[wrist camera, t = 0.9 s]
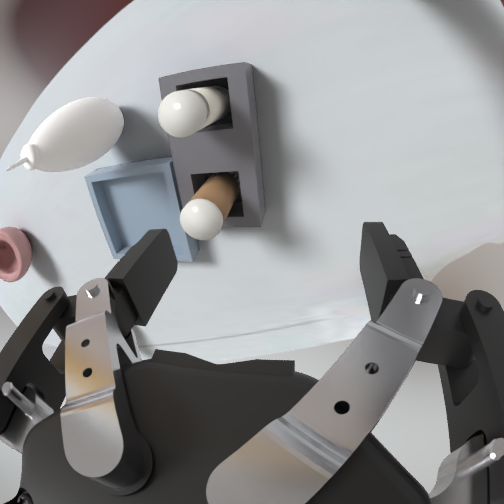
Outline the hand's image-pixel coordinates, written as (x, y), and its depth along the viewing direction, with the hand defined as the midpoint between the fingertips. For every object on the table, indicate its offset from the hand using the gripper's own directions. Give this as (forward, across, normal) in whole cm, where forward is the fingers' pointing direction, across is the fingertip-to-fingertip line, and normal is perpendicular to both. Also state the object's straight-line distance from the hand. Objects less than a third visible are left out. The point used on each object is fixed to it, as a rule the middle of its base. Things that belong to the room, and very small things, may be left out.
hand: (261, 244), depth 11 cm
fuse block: (+22, +8, 0) cm, 23 cm away
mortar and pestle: (+24, +58, +11) cm, 64 cm away
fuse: (+22, +7, -6) cm, 24 cm away
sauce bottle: (+22, +22, -6) cm, 32 cm away
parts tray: (+23, +20, +7) cm, 31 cm away
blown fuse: (+22, +8, +4) cm, 24 cm away
